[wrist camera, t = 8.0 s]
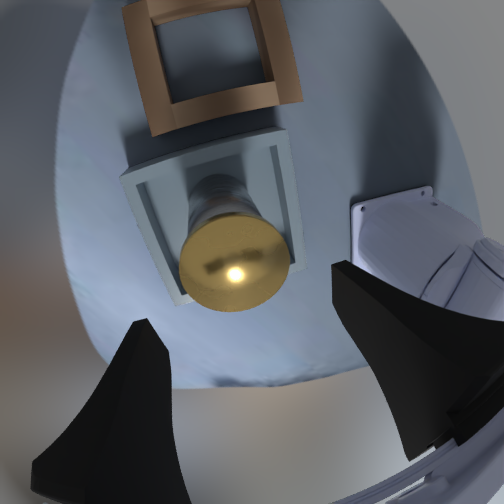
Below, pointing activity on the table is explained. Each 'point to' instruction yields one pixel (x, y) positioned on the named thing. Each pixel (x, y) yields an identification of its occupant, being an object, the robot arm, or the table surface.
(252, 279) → the jar with gold lid
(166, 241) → the tray
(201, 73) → the table surface
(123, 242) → the table surface
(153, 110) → the socket block
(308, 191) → the table surface
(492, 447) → the robot arm
